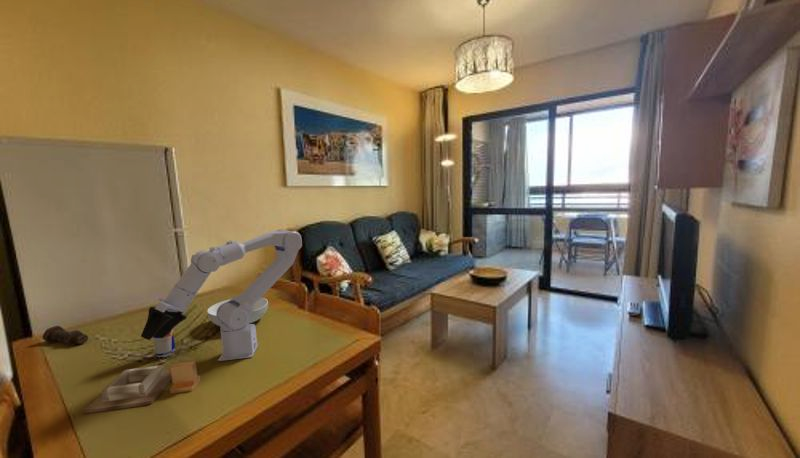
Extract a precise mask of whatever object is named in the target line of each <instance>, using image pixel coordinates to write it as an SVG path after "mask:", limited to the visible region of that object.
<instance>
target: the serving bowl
mask: <svg viewBox="0 0 800 458" xmlns="http://www.w3.org/2000/svg"><path fill="white" fill-rule="evenodd" d="M231 299H232V298H229V299H226V300H223V301H219V302H217V303H215V304H212V305H211V306H210V307H208V309H207V310H206V312H207V313H206V314H207V316H208V318H209V320H210V322H211V323H213V324H215V325H216V326H218V327H220V326H221V322H222V321H220V320H219V319H218V318H217V315H216V313H217V309H218V308H219V306H220V305H222V304H223V303H225V302H228V301H229V300H231ZM268 306H269V301H268V299H267V298H265V297H263V296H262V297H261V298H260V299H259V300H258V301H257V302H256V303H255V305H254V312H253V313H252V314H251V315H250V317H249V319H248V322H247V324H253V323H255V322H256V321H259V320H260V319H261V318H262V317H263V316H264V315H265V313H267V310H268Z"/></svg>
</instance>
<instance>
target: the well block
mask: <svg viewBox="0 0 800 458" xmlns="http://www.w3.org/2000/svg"><path fill="white" fill-rule="evenodd" d="M171 382H172V375H171V369H170V370H165V368H164V365H163V364H161V365H154V366H152V365H151V366H144V367H135V368H128V369H125V370H123V371H122V372H121V373H120V374H119V375H117V377H115V378H114V379H113V380H112V381H110V382H109V383H108V384H107V385H106V386H104V387H103V388H102V389H101V394H100V395H99V396H98V397H97V398H96V399H95V400H94V401H92V402H91V403H90V404H88V406H87V407H85V409H83V410H82V412H83V414H89V413H90V414H92V413H96V412H97V413H98V412H104V411H112V410H119V409H120V410H121V409H127V408H128V409H129V408H133V407H134V408H135V407H140V406H149V405H152V404H154V402H155V401H156V400H157V399H158V397H159V396H160V395H161V394H162V393H163V392H164V390H165V389H166V388H167V387H168V386H169V385H170V383H171Z"/></svg>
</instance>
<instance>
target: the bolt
mask: <svg viewBox="0 0 800 458" xmlns="http://www.w3.org/2000/svg"><path fill="white" fill-rule="evenodd" d="M42 339H43V340H44V341H46V342H47V343H48V344H51V343H55V342H56V341H59V342H60V341H61V342H64V343H65V344H67V345H69V346H74V345H76V344H77V345H82V344H85V343H86V342H87V341H88V339H89V335H87V334H85V333H83V332H82V331H80V330H78V329H75V330H72V331H71V330H70V331H68V330H67V331H66V330H65V329H64V328H63V327H62V326H60V325H54V326H52V327H49V328H47V329H45V331H44V333H43V334H42Z"/></svg>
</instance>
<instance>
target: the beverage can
mask: <svg viewBox="0 0 800 458" xmlns="http://www.w3.org/2000/svg"><path fill="white" fill-rule="evenodd" d="M152 340H153V346H154V354H155V356H156V357H158V358H160V357H163V358H167V357H169V356H171V355H173V354H174V352H175V351H176V345H175V344H176V343H175V336H174V328H173V329H172V330H171V331H170V332H169V333H168V334H167V335H166V336H165V337H164V338H160V337H157V336H155V335H154V336H153V337H152Z"/></svg>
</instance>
